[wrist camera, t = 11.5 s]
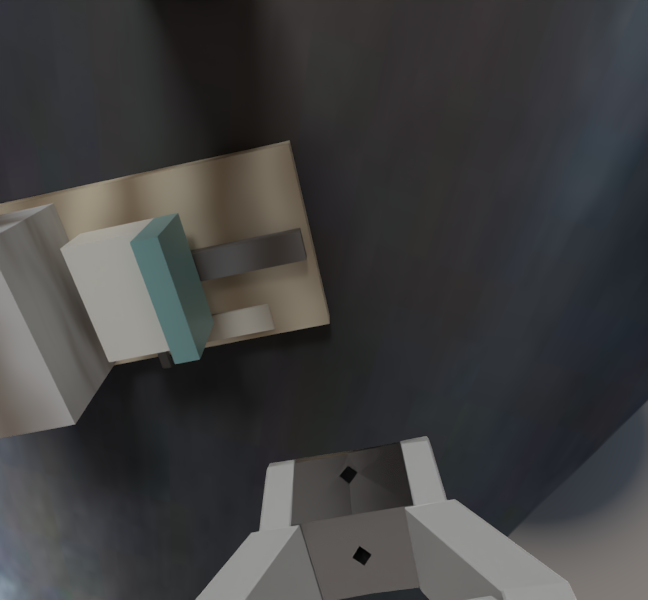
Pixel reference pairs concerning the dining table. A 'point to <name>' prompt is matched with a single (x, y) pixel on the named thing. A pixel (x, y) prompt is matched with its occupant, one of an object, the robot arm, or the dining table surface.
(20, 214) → the frame
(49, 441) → the dining table surface
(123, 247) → the block with teal panel
